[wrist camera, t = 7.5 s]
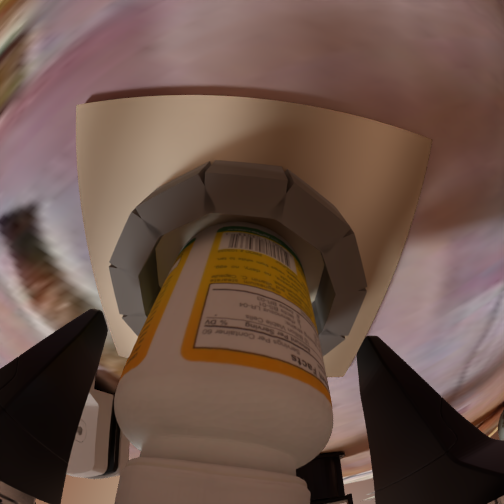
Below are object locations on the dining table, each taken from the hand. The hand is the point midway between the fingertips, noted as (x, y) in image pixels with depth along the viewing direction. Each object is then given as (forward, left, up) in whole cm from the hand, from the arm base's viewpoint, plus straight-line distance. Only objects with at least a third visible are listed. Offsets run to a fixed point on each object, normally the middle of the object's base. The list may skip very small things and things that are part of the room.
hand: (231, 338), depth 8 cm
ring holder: (0, 0, -4) cm, 4 cm away
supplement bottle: (0, 0, -4) cm, 4 cm away
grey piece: (+16, +18, -4) cm, 24 cm away
